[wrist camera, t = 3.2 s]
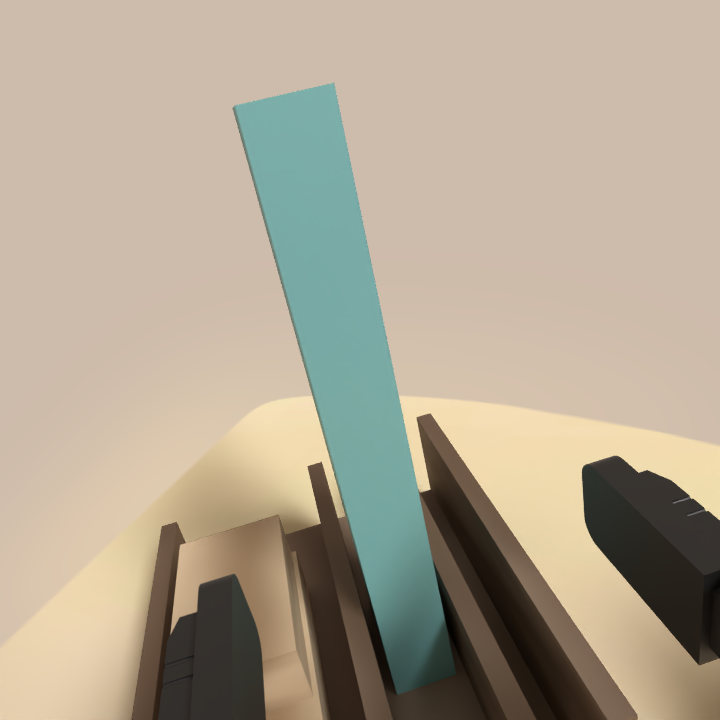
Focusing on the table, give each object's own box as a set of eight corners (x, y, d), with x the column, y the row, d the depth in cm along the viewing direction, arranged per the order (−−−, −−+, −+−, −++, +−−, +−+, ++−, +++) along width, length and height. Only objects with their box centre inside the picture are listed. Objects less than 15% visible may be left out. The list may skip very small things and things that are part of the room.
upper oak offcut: (188, 739, 21) (164, 694, 20) (197, 584, 28) (180, 544, 27) (313, 696, 21) (296, 649, 20) (292, 555, 28) (278, 514, 27)
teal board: (397, 694, 23) (234, 105, 14) (369, 601, 28) (232, 108, 19) (456, 674, 24) (334, 82, 14) (419, 584, 28) (308, 90, 19)
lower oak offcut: (203, 818, 21) (180, 776, 20) (210, 620, 29) (193, 583, 28) (339, 769, 21) (323, 726, 20) (308, 588, 29) (295, 551, 28)
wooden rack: (146, 1038, 17) (52, 931, 14) (185, 588, 33) (144, 498, 31) (644, 841, 19) (643, 712, 16) (450, 504, 35) (433, 412, 32)
